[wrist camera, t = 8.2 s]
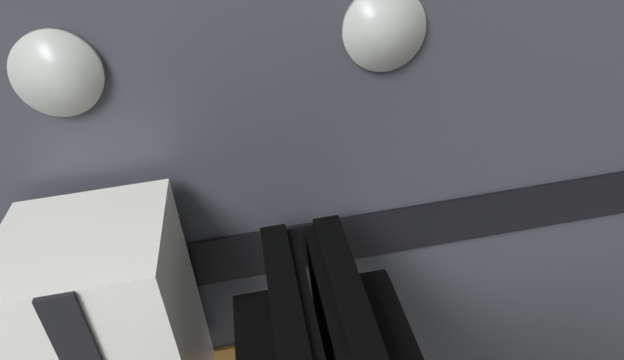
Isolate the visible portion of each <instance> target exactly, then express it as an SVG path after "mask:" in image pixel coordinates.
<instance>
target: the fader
mask: <svg viewBox="0 0 624 360" xmlns="http://www.w3.org/2000/svg"><path fill="white" fill-rule="evenodd" d="M0 360H214V349H213V345H212V341H211V337H210V333H209V330H208V326H207V322H206V318H205V314H204V311H203V307H202V303H201V299H200V295H199V292H198V288H197V284H196V280H195V276H194V273H193V269H192V265H191V261H190V257H189V253H188V250H187V246H186V242H185V238H184V234H183V231H182V227H181V223H180V219H179V215H178V212H177V208H176V204H175V200H174V196H173V193H172V189H171V185H170V181H169V179H163V180H156V181H150V182H143V183H137V184H130V185H124V186H117V187H111V188H104V189H98V190H91V191H85V192H78V193H72V194H65V195H59V196H52V197H46V198H39V199H33V200H26V201H20V202H13V203H12V205H11V207H10V208H9V210H8V212H7V214H6V215H5V217H4V219H3V220H2V222H1V224H0Z"/></svg>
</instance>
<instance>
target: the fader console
mask: <svg viewBox="0 0 624 360" xmlns="http://www.w3.org/2000/svg"><path fill="white" fill-rule="evenodd" d="M163 179H169V181H170V185H171V189H172V193H173V196H174V200H175V204H176V208H177V212H178V215H179V219H180V223H181V227H182V231H183V234H184V238H185V242H186V246H187V250H188V253H189V257H190V261H191V265H192V269H193V273H194V276H195V280H196V284H197V288H198V292H199V295H200V299H201V303H202V307H203V311H204V314H205V318H206V322H207V326H208V330H209V333H210V337H211V341H212V345H213V349H214V360H235V339H234V317H233V296H235V295H241V294H246V293H252V292H258V291H263V290H268V286H267V279H266V271H265V263H264V255H263V248H262V240H261V232H260V228H262V227H268V226H274V225H280V224H285V225H286V230H291V229H296V230H297V234H298V238H299V243H300V247H301V251H302V256H303V260H304V265H305V269H306V273H307V278H308V282H309V287H310V291H311V295H312V290H311V282H310V274H309V266H308V258H307V249H306V241H305V233H304V227H309V226H313V219H316V218H322V217H328V216H334V215H338V216H339V218H340V221H341V224H342V226H343V229H344V232H345V235H346V238H347V241H348V243H349V246H350V249H351V252H352V255H353V258H354V260H355V263H356V266H357V269H358V272H359V274H360V273H365V272H371V271H377V270H382V269H385V270H386V271H387V273H388V275H389V277H390V280H391V282H392V284H393V287H394V289H395V291H396V294H397V296H398V299H399V301H400V303H401V306H402V308H403V310H404V313H405V315H406V317H407V320H408V322H409V325H410V327H411V329H412V332H413V334H414V336H415V339H416V341H417V343H418V346H419V348H420V351H421V353H422V355H423V358H424V360H624V0H0V224H1V222H2V220H3V219H4V217H5V215H6V214H7V212H8V210H9V208H10V207H11V205H12V203H13V202H20V201H26V200H33V199H39V198H46V197H52V196H59V195H65V194H72V193H78V192H85V191H91V190H98V189H104V188H111V187H117V186H124V185H130V184H137V183H143V182H150V181H156V180H163ZM312 300H313V298H312Z"/></svg>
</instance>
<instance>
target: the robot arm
mask: <svg viewBox="0 0 624 360" xmlns="http://www.w3.org/2000/svg"><path fill="white" fill-rule="evenodd" d="M260 232H261V240H262V248H263V255H264V263H265V271H266V279H267V286H268V290H263V291H258V292H252V293H246V294H241V295H235V296H233V317H234V339H235V360H424V358H423V355H422V353H421V351H420V348H419V346H418V343H417V341H416V339H415V336H414V334H413V332H412V329H411V327H410V325H409V322H408V320H407V317H406V315H405V313H404V310H403V308H402V306H401V303H400V301H399V299H398V296H397V294H396V291H395V289H394V287H393V284H392V282H391V280H390V277H389V275H388V273H387V271H386V270H385V269H382V270H377V271H371V272H365V273H360V274H359V272H358V269H357V266H356V263H355V260H354V258H353V255H352V252H351V249H350V246H349V243H348V241H347V238H346V235H345V232H344V229H343V226H342V224H341V221H340V218H339V216H338V215H334V216H328V217H322V218H316V219H313V226H309V227H304V233H305V241H306V249H307V258H308V266H309V274H310V282H311V290H312V295H311V291H310V287H309V282H308V278H307V273H306V269H305V265H304V260H303V256H302V251H301V247H300V243H299V238H298V234H297V230H296V229H291V230H286V225H285V224H280V225H274V226H268V227H262V228H260ZM312 298H313V300H312Z"/></svg>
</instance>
